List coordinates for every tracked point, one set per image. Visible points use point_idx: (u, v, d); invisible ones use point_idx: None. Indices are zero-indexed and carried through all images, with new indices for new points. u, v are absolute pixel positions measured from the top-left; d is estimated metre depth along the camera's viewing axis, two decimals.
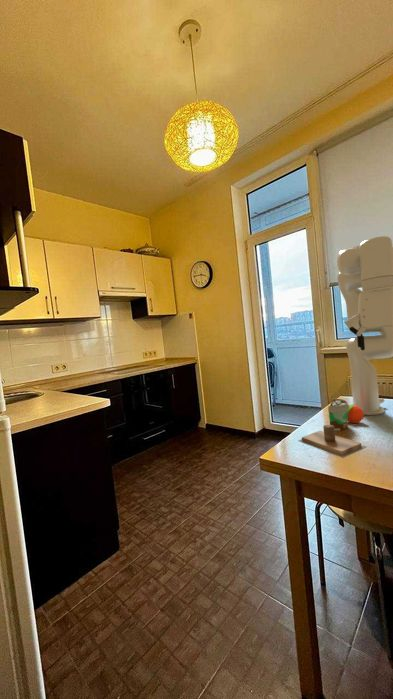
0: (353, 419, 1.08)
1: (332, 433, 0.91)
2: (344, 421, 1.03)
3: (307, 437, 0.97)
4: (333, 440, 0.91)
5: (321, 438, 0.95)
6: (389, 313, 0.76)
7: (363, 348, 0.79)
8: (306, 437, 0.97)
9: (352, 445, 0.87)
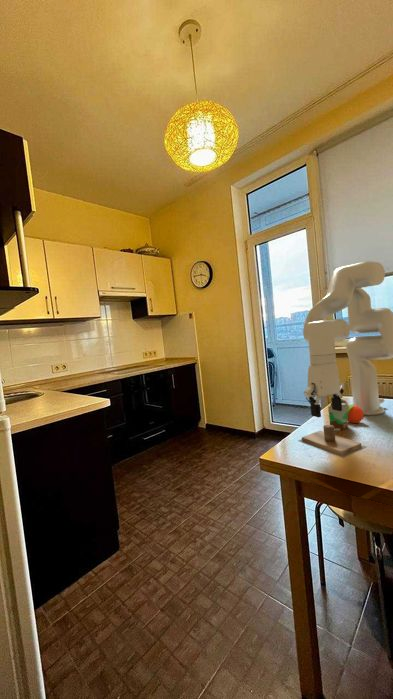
0: (353, 419, 1.08)
1: (332, 433, 0.91)
2: (344, 421, 1.03)
3: (307, 437, 0.97)
4: (333, 440, 0.91)
5: (321, 438, 0.95)
6: (334, 384, 0.90)
7: (320, 415, 0.88)
8: (306, 437, 0.97)
9: (352, 445, 0.87)
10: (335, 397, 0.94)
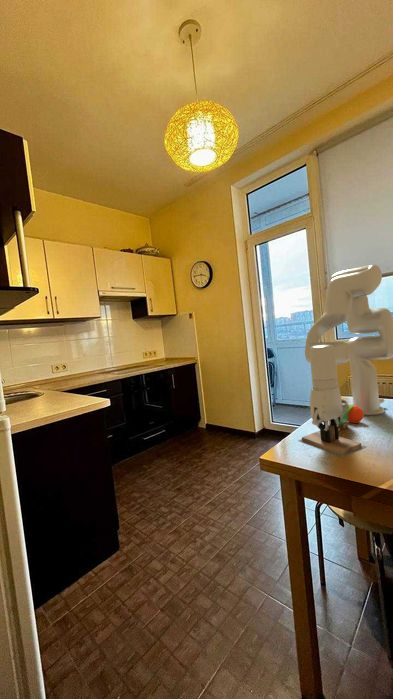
0: (353, 419, 1.08)
1: (332, 433, 0.91)
2: (344, 421, 1.03)
3: (307, 437, 0.97)
4: (333, 440, 0.91)
5: None
6: (337, 407, 0.91)
7: (330, 441, 0.91)
8: (306, 437, 0.97)
9: (352, 445, 0.87)
10: (332, 423, 0.93)
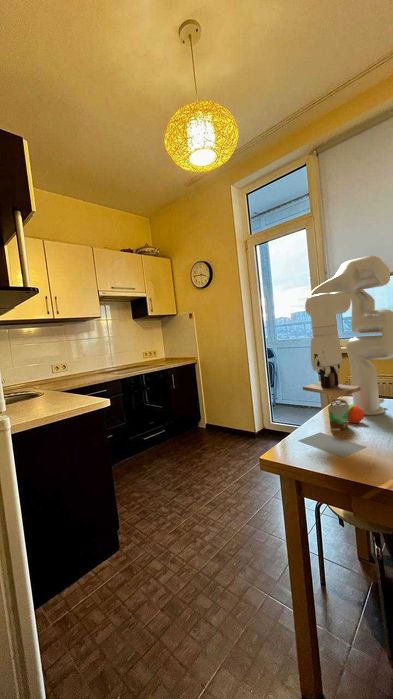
0: (353, 419, 1.08)
1: (332, 379, 0.94)
2: (344, 421, 1.03)
3: (308, 386, 1.00)
4: (333, 386, 0.94)
5: None
6: (336, 354, 0.94)
7: (330, 386, 0.94)
8: (307, 386, 1.00)
9: (351, 388, 0.90)
10: (331, 371, 0.96)
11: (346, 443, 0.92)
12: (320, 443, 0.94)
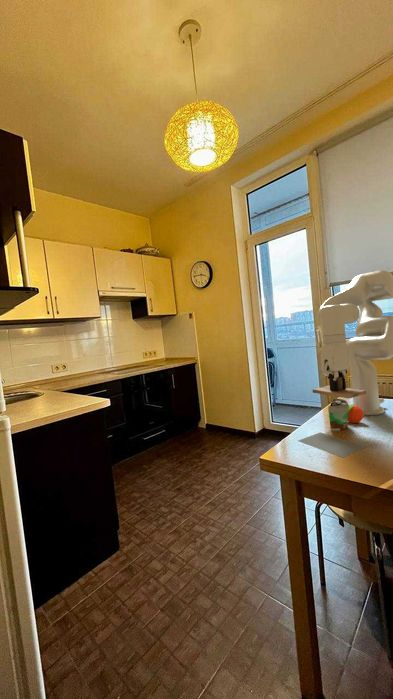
0: (353, 419, 1.08)
1: (340, 383, 1.03)
2: (344, 421, 1.03)
3: (317, 389, 1.09)
4: (341, 389, 1.03)
5: None
6: (344, 360, 1.03)
7: (338, 390, 1.03)
8: (316, 389, 1.09)
9: (358, 391, 0.99)
10: (339, 376, 1.05)
11: (346, 443, 0.92)
12: (320, 443, 0.94)
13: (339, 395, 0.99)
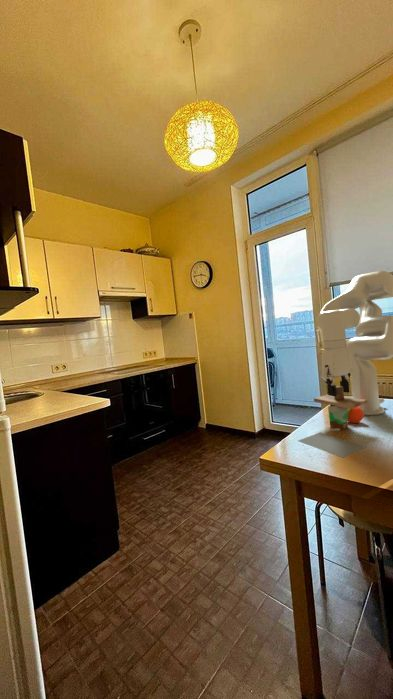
0: (353, 419, 1.08)
1: (341, 392, 1.04)
2: (344, 421, 1.03)
3: (319, 398, 1.09)
4: (342, 398, 1.04)
5: (331, 398, 1.08)
6: (345, 365, 1.03)
7: (336, 394, 1.02)
8: (318, 398, 1.09)
9: (359, 401, 1.00)
10: (343, 380, 1.06)
11: (346, 443, 0.92)
12: (320, 443, 0.94)
13: (340, 405, 1.00)
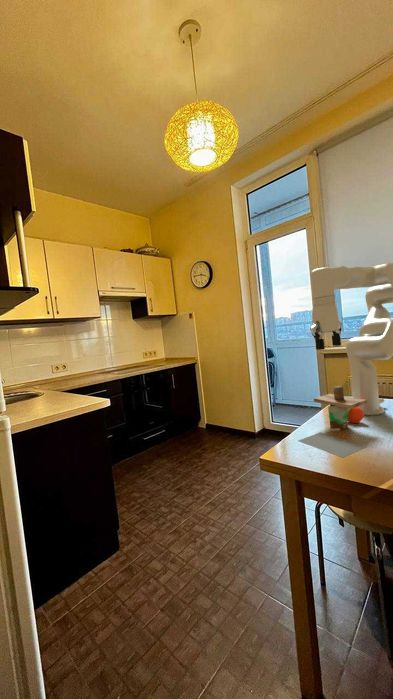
0: (353, 419, 1.08)
1: (341, 392, 1.04)
2: (344, 421, 1.03)
3: (318, 398, 1.09)
4: (342, 398, 1.04)
5: (331, 398, 1.08)
6: (334, 321, 1.07)
7: (324, 348, 1.05)
8: (318, 398, 1.09)
9: (359, 401, 1.00)
10: (335, 334, 1.11)
11: (346, 443, 0.92)
12: (320, 443, 0.94)
13: (341, 405, 1.00)
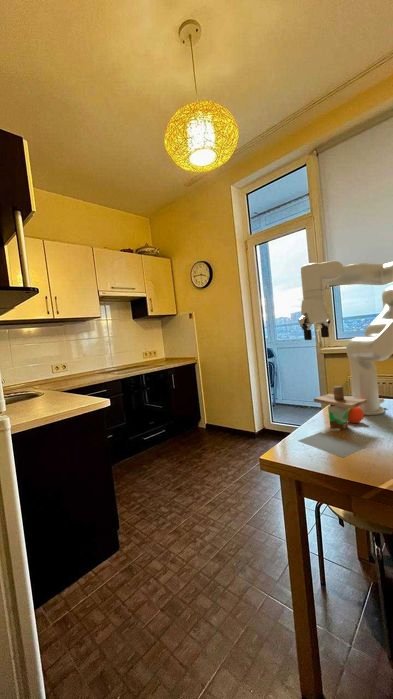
0: (353, 419, 1.08)
1: (341, 392, 1.04)
2: (344, 421, 1.03)
3: (318, 398, 1.09)
4: (342, 398, 1.04)
5: (331, 398, 1.08)
6: (322, 314, 1.14)
7: (311, 338, 1.12)
8: (317, 398, 1.09)
9: (359, 401, 1.00)
10: (323, 326, 1.17)
11: (346, 443, 0.92)
12: (320, 443, 0.94)
13: (341, 405, 1.00)
